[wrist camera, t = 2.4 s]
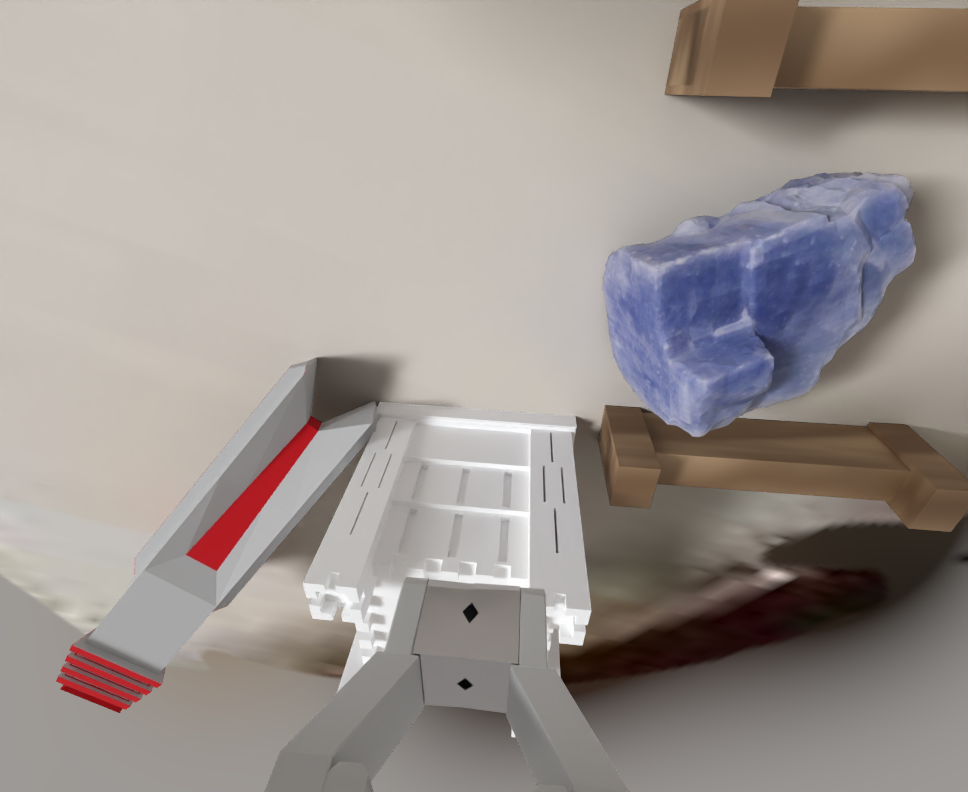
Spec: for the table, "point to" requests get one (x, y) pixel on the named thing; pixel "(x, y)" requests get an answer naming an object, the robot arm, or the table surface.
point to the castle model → (455, 519)
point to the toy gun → (217, 538)
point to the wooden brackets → (782, 444)
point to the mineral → (755, 295)
